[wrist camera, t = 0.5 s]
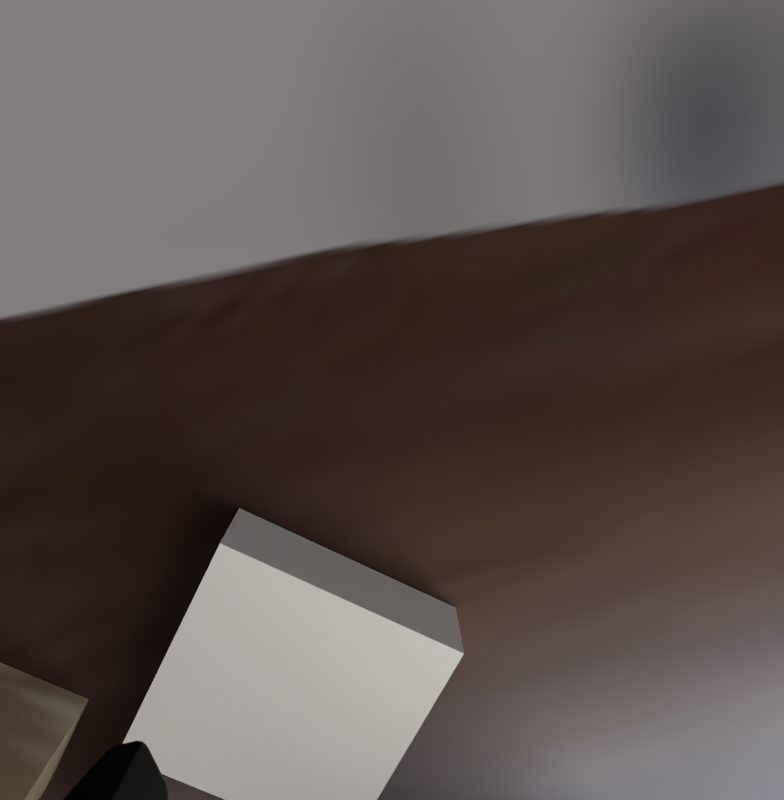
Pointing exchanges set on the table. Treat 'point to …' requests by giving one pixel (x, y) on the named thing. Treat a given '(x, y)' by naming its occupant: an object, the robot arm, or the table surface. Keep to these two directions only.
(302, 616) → the white slotted block
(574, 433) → the table surface
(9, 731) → the wooden peg
